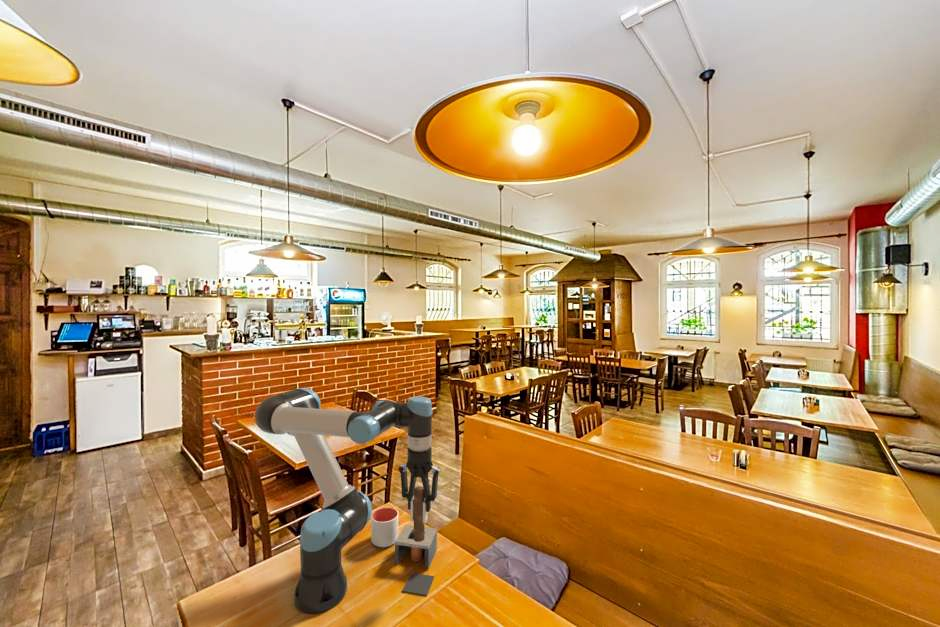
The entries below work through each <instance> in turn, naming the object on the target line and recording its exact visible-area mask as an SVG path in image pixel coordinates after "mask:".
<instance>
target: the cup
mask: <svg viewBox="0 0 940 627" xmlns="http://www.w3.org/2000/svg"><path fill="white" fill-rule="evenodd" d="M370 523H371V524H370V530H371V531H370V540H371V543H372V545H374V546H376V547H378V548H388V547H391V546H393V545H395V541H396V539H397V537H398V536H399V511H398V510H397V509H396V508H394V507H390V506H389V507H381V508H378V509H376V510H375V511H372V514H371V517H370Z"/></svg>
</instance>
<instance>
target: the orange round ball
mask: <svg viewBox="0 0 940 627" xmlns="http://www.w3.org/2000/svg"><path fill="white" fill-rule="evenodd" d="M422 552H423V550H422V548H416V547H411V549H410V560H412V561H413V562H417V561H420V560H421V559H422V556H423V554H422Z"/></svg>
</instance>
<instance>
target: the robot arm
mask: <svg viewBox="0 0 940 627" xmlns="http://www.w3.org/2000/svg"><path fill="white" fill-rule="evenodd" d="M321 405H322V403H321V400H320V397H319V396H318V394H317V392H315V391H314V390H312V389H311V388H307V387H299V388H294V389H291V390H288V391H285V392H282V393H279V394H275V395H271V396H268V397H266V398H264V399H263V400H262V401H261V402H260V403H259V404H258V406H257V407H256V409H255V411H254V412H255V413H254V422H255V424H256V426H257V428H258V429H260V430H261V431H262V432H265V433H267V434H271V435H285V434H286V433H287V435H289V436H292V437H294V439H295V441H296V443H297V445H298V448H299V449H300V451H301V453H302V455H303V457H304V460H305V461H306V463H307V466H308V469H309V470H310V472H311V474H312V477H313V479H314V481H315V482H316V485H317V487H318V489H319V491H320V493H321V496H322V497H323V499H324V500H323V501H324V502H323V503H322V504H323V505H322V509H323V510H321V511H316V512H314V513H312V514H310V516H309V517H307V518H306V519H305V520H304V522H303V524H302V526H301V529H300V537H299V549H300V554H299V555H300V558H299V559H300V574H299V578H298V581H297V584H296V587H295V590H294V595H293V598H294V599H293V600H294V606H295V608H296V609H297V611H300V612H302V613H304V614H309V615H311V614H319V613H323V612H326V611H328V610H330V609H333V608H334V607H335V606H337V605H338V604H339V603H341V601H343V599H344V597H345V596H346V594H347V592H348V579H347V576H346V574H345V571H344V568H343V565H342V549H343V548H344V547H345V546H346V545H347V544H348V543H349V542H350V541H351V540H352V539H353V538H355V536H356V535H358V534H359V532H362V531H363V529H364V528H365V527H366V525H367V524H368V523H369V522H370V521H371V515H372V513H373V508H372V506H373V505H372V502H371V500H370V498H369V497H368V495H367V494H366V493H363V491H360V490H357V489H356V486H354V485H350V484H349V483H348V481H347V478H346V477H345V475H344V472H343V471H342V469H341V467H340V464H339V462H338V460H337V458H336V456H335V454H334V452H333V450H332V448H331V447H330V445H329V442H328V440H327V438H326V436H329V437H338V438H339V437H342V438H349V439H350V440H351V441H352V442H354V444H357V445H364V444H366V443H370V442H372V441H373V440H375V439H376V438H377V437H379V436H380V435H382V434H383V433H385V432H386V431H388V430H390V429H392V428H393V427H397V428H407V461H406V463H402V464H400V466H399V467H398V472H399V474H400V484H401V485H400V487H401V497H402V498H403V499H407V509H408V510H410V522H411V523H412V522H413V523H414V488H415V487H416V483H417V478H420V479H421V480H420V481H421V482H422V487H423V489H424V496H425V500H424V502H423V523H424V524H426V523H427V521H428V518H429V512H430V510H431V508H432V506H431V505H432V502H434V501H435V500H436V498H437V496H438V483H439V474H440V472H441V468H440V467H435V466H434V463H433V462H432V457H433V455H432V452H433V451H432V444H433V440H432V439H433V437H432V436H433V435H432V432H433V431H432V429H433V427H432V426H433V425H432V424H433V422H432V421H433V408H432V407H433V405H432V400H431V399H430V398H429V397H426V396H413V397H410V398H409V399H408V400H407V402H399V401H391V400H388V399H387V400H377V401H376V402H375V403H374V405H372V408H371V410H369V411H355V410H353V411H352V410H339V409H328V408H327V409H325V408H322V407H321ZM408 471H409V473H410V478H409V480H410V481H409V480H408ZM430 472H431V475H432V478H431V479H432V480H431V488H430V480H429V473H430ZM408 481H409V482H408Z"/></svg>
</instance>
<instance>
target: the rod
mask: <svg viewBox="0 0 940 627" xmlns="http://www.w3.org/2000/svg"><path fill="white" fill-rule="evenodd" d="M413 497H414V520H413V526H414V541H416V542H421V541H423V540H424V527H425V523H423V502H424V500H425V496H424V489H423V485H422V486H415V488H414V496H413Z"/></svg>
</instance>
